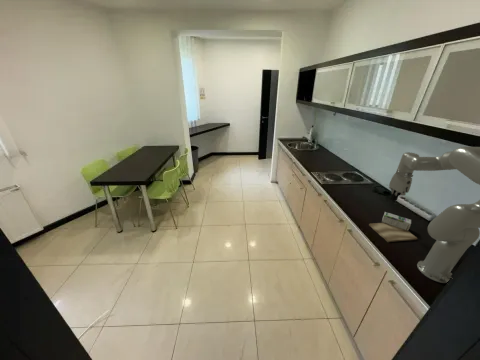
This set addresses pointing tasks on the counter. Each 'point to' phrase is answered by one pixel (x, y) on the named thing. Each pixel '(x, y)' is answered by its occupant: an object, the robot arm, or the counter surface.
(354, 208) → the counter surface
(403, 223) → the syrup box
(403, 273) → the counter surface
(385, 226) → the oak board
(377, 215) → the counter surface
